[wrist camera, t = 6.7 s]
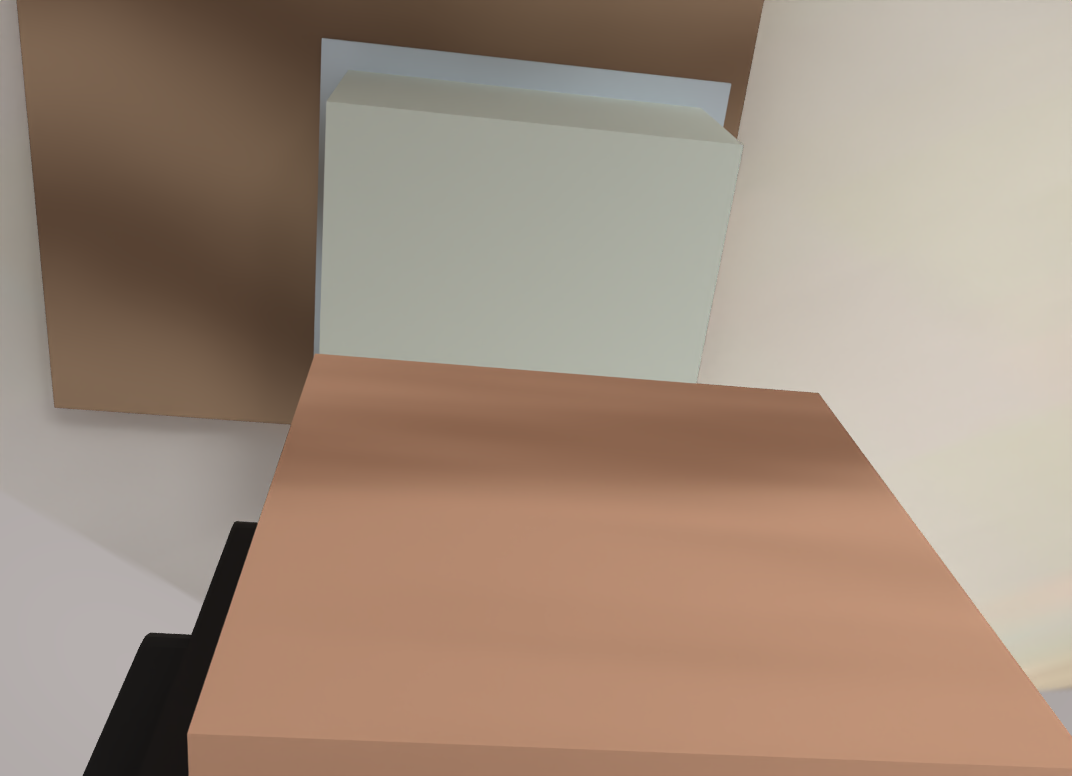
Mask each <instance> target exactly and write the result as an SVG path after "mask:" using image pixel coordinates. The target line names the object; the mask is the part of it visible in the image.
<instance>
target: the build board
mask: <svg viewBox="0 0 1072 776" xmlns="http://www.w3.org/2000/svg"><path fill="white" fill-rule="evenodd" d="M763 2H764V0H17V10H18V21H19V32H20V42H21V53H22V64H23V75H24V85H25V96H26V107H27V118H28V128H29V139H30V150H31V161H32V171H33V182H34V193H35V204H36V215H37V225H38V236H39V247H40V258H41V268H42V279H43V290H44V301H45V311H46V322H47V333H48V344H49V354H50V365H51V376H52V387H53V397H54V408H68V409H82V410H96V411H110V412H124V413H138V414H152V415H166V416H180V417H194V418H208V419H222V420H236V421H249V422H263V423H277V424H291V423H292V420H293V417H294V414H295V411H296V408H297V406H298V403H299V400H300V397H301V394H302V391H303V388H304V385H305V382H306V379H307V376H308V373H309V370H310V367H311V364H312V361H313V358H314V355H315V354H319V347H320V311H321V275H322V239H323V202H324V166H325V130H326V101H327V100H328V98H329V97H330V95H331V94H332V93H333V91H334V90H335V88H336V87H337V85H338V84H339V83H340V81H341V80H342V78H343V77H344V75H345V74H346V73H347V71H348V70H355V71H364V72H373V73H383V74H392V75H401V76H410V77H420V78H429V79H438V80H447V81H457V82H466V83H475V84H485V85H494V86H503V87H512V88H522V89H531V90H540V91H549V92H559V93H568V94H577V95H586V96H596V97H605V98H614V99H623V100H633V101H642V102H651V103H660V104H670V105H679V106H688V107H697V108H702V109H703V110H704V111H705V112H706V113H707V114H709V115H710V116H711V117H712V118H713V119H714V120H715V121H717V122H718V123H719V124H720V125H721V126H722V127H724V128H725V129H726V130H727V131H728V132H729V133H730V134H732V135H733V136H734V137H735V138H736V139H737V136H738V130H739V125H740V120H741V115H742V110H743V105H744V100H745V95H746V89H747V84H748V79H749V74H750V69H751V64H752V59H753V54H754V49H755V43H756V38H757V33H758V28H759V23H760V18H761V13H762V8H763Z"/></svg>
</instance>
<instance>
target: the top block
mask: <svg viewBox="0 0 1072 776" xmlns="http://www.w3.org/2000/svg"><path fill="white" fill-rule="evenodd" d="M187 740H188V768H189V776H1072V736H1071V735H1070V734H1069V732H1068V731H1067V730H1066V728H1065V727H1064V725H1063V724H1062V723H1061V721H1060V720H1059V719H1058V717H1057V716H1056V715H1055V713H1054V712H1053V711H1052V709H1051V708H1050V706H1049V705H1048V704H1047V702H1046V701H1045V700H1044V698H1043V697H1042V696H1041V694H1040V693H1039V691H1038V690H1037V689H1036V687H1035V686H1034V685H1033V683H1032V682H1031V681H1030V679H1029V678H1028V677H1027V675H1026V674H1025V672H1024V671H1023V670H1022V668H1021V667H1020V666H1019V664H1018V663H1017V662H1016V660H1015V659H1014V658H1013V656H1012V655H1011V653H1010V652H1009V651H1008V649H1007V648H1006V647H1005V645H1004V644H1003V643H1002V641H1001V640H1000V639H999V637H998V636H997V634H996V633H995V632H994V630H993V629H992V628H991V626H990V625H989V624H988V622H987V621H986V620H985V618H984V617H983V616H982V614H981V613H980V611H979V610H978V609H977V607H976V606H975V605H974V603H973V602H972V601H971V599H970V598H969V597H968V595H967V594H966V592H965V591H964V590H963V588H962V587H961V586H960V584H959V583H958V582H957V580H956V579H955V578H954V576H953V575H952V573H951V572H950V571H949V569H948V568H947V567H946V565H945V564H944V563H943V561H942V560H941V559H940V557H939V556H938V554H937V553H936V552H935V550H934V549H933V548H932V546H931V545H930V544H929V542H928V541H927V540H926V538H925V537H924V535H923V534H922V533H921V531H920V530H919V529H918V527H917V526H916V525H915V523H914V522H913V521H912V519H911V518H910V516H909V515H908V514H907V512H906V511H905V510H904V508H903V507H902V506H901V504H900V503H899V502H898V500H897V499H896V497H895V496H894V495H893V493H892V492H891V491H890V489H889V488H888V487H887V485H886V484H885V483H884V481H883V480H882V479H881V477H880V476H879V474H878V473H877V472H876V470H875V469H874V468H873V466H872V465H871V464H870V462H869V461H868V460H867V458H866V457H865V455H864V454H863V453H862V451H861V450H860V449H859V447H858V446H857V445H856V443H855V442H854V441H853V439H852V438H851V436H850V435H849V434H848V432H847V431H846V430H845V428H844V427H843V426H842V424H841V423H840V422H839V420H838V419H837V417H836V416H835V415H834V413H833V412H832V411H831V409H830V408H829V407H828V405H827V404H826V403H825V401H824V400H823V398H822V397H821V396H820V394H819V393H811V392H798V391H785V390H773V389H760V388H747V387H735V386H722V385H709V384H696V383H684V382H671V381H658V380H646V379H633V378H620V377H607V376H595V375H582V374H569V373H557V372H544V371H531V370H518V369H506V368H493V367H480V366H468V365H455V364H442V363H429V362H417V361H404V360H391V359H379V358H366V357H353V356H341V355H328V354H315V355H314V358H313V361H312V364H311V367H310V370H309V373H308V376H307V379H306V382H305V385H304V388H303V391H302V394H301V397H300V400H299V403H298V406H297V408H296V411H295V414H294V417H293V420H292V423H291V426H290V429H289V432H288V435H287V438H286V441H285V444H284V447H283V450H282V453H281V456H280V459H279V462H278V465H277V468H276V471H275V474H274V477H273V480H272V483H271V486H270V489H269V492H268V495H267V498H266V501H265V504H264V507H263V510H262V513H261V516H260V519H259V522H258V525H257V528H256V531H255V534H254V536H253V539H252V542H251V545H250V548H249V551H248V554H247V557H246V560H245V563H244V566H243V569H242V572H241V575H240V578H239V581H238V584H237V587H236V590H235V593H234V596H233V599H232V602H231V605H230V608H229V611H228V614H227V617H226V620H225V623H224V626H223V629H222V632H221V635H220V638H219V641H218V644H217V647H216V650H215V653H214V656H213V659H212V662H211V664H210V667H209V670H208V673H207V676H206V679H205V682H204V685H203V688H202V691H201V694H200V697H199V700H198V703H197V706H196V709H195V712H194V715H193V718H192V721H191V724H190V727H189V730H188V733H187Z"/></svg>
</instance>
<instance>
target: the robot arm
mask: <svg viewBox="0 0 1072 776" xmlns="http://www.w3.org/2000/svg"><path fill="white" fill-rule="evenodd" d="M257 525H258V523H255V522H239V521H236V522H234V524H233V526H232V528H231V531H230V533H229V536H228V539H227V541H226V544H225V547H224V549H223V552H222V555H221V557H220V560H219V563H218V565H217V568H216V571H215V573H214V576H213V579H212V581H211V584H210V587H209V589H208V592H207V595H206V597H205V600H204V603H203V605H202V608H201V611H200V613H199V616H198V619H197V621H196V624H195V627H194V629H193V632H192V635H186V634H165V633H149V634H148V635H146V636H145V638H144V639H143V641H142V643H141V645H140V647H139V649H138V651H137V654H136V656H135V658H134V661H133V663H132V665H131V667H130V669H129V672H128V674H127V676H126V678H125V681H124V683H123V685H122V688H121V690H120V692H119V695H118V697H117V699H116V701H115V704H114V706H113V708H112V710H111V713H110V715H109V717H108V719H107V722H106V724H105V726H104V728H103V731H102V733H101V735H100V738H99V740H98V742H97V744H96V747H95V749H94V751H93V753H92V756H91V758H90V760H89V762H88V765H87V767H86V769H85V772H84V774H83V776H189V768H188V740H187V733H188V730H189V727H190V724H191V721H192V718H193V715H194V712H195V709H196V706H197V703H198V700H199V697H200V694H201V691H202V688H203V685H204V682H205V679H206V676H207V673H208V670H209V667H210V664H211V662H212V659H213V656H214V653H215V650H216V647H217V644H218V641H219V638H220V635H221V632H222V629H223V626H224V623H225V620H226V617H227V614H228V611H229V608H230V605H231V602H232V599H233V596H234V593H235V590H236V587H237V584H238V581H239V578H240V575H241V572H242V569H243V566H244V563H245V560H246V557H247V554H248V551H249V548H250V545H251V542H252V539H253V536H254V534H255V531H256V528H257Z"/></svg>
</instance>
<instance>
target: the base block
mask: <svg viewBox="0 0 1072 776" xmlns="http://www.w3.org/2000/svg"><path fill="white" fill-rule="evenodd" d="M743 146H744V145H743V144H742V143H741V142H740V141H738V140H737V139H736V138H735V137H734V136H733V135H732V134H730V133H729V132H728V131H727V130H726V129H725V128H724V127H722V126H721V125H720V124H719V123H718V122H717V121H715V120H714V119H713V118H712V117H711V116H710V115H709V114H707V113H706V112H705V111H704V110H703V109H702V108H697V107H688V106H679V105H670V104H660V103H651V102H642V101H633V100H623V99H614V98H605V97H596V96H586V95H577V94H568V93H559V92H549V91H540V90H531V89H522V88H512V87H503V86H494V85H485V84H475V83H466V82H457V81H447V80H438V79H429V78H420V77H410V76H401V75H392V74H383V73H373V72H364V71H355V70H348V71H347V73H346V74H345V75H344V77H343V78H342V80H341V81H340V83H339V84H338V85H337V87H336V88H335V90H334V91H333V93H332V94H331V95H330V97H329V98H328V100H327V101H326V130H325V166H324V202H323V239H322V275H321V311H320V347H319V354H328V355H341V356H353V357H366V358H379V359H391V360H404V361H417V362H429V363H442V364H455V365H468V366H480V367H493V368H506V369H518V370H531V371H544V372H557V373H569V374H582V375H595V376H607V377H620V378H633V379H646V380H658V381H671V382H684V383H697V378H698V372H699V367H700V362H701V357H702V352H703V347H704V342H705V337H706V332H707V327H708V322H709V317H710V312H711V307H712V302H713V297H714V292H715V287H716V282H717V277H718V272H719V267H720V262H721V257H722V252H723V247H724V242H725V237H726V232H727V227H728V222H729V217H730V211H731V206H732V201H733V196H734V191H735V186H736V181H737V176H738V171H739V166H740V161H741V156H742V151H743Z"/></svg>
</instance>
